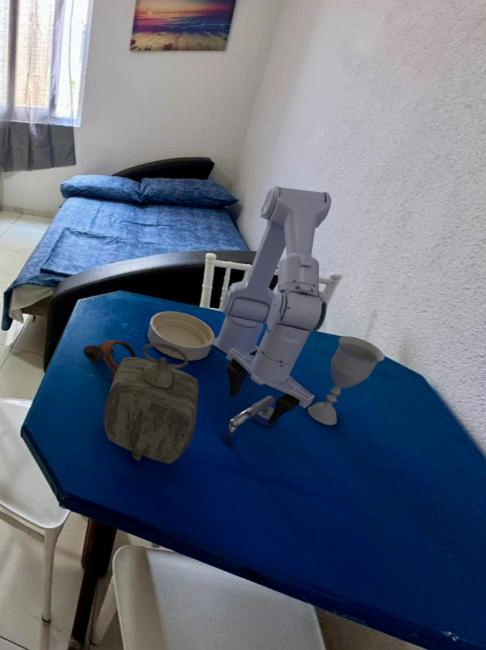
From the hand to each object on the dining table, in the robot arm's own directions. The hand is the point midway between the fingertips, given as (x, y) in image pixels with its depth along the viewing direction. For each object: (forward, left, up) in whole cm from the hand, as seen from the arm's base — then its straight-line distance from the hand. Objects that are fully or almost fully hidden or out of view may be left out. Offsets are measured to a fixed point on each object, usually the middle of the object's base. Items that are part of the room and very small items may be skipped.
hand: (252, 407), depth 78 cm
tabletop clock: (+22, -7, -7) cm, 24 cm away
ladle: (-2, 0, -6) cm, 7 cm away
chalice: (-19, +6, -7) cm, 21 cm away
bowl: (-12, -25, -6) cm, 29 cm away
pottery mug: (+11, -27, -7) cm, 30 cm away
